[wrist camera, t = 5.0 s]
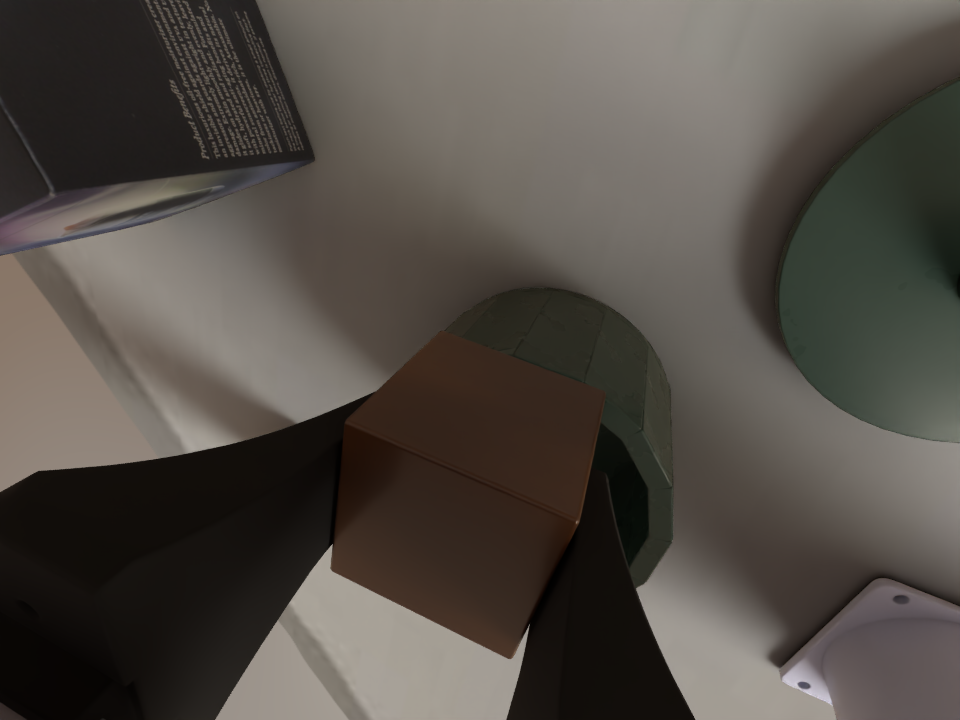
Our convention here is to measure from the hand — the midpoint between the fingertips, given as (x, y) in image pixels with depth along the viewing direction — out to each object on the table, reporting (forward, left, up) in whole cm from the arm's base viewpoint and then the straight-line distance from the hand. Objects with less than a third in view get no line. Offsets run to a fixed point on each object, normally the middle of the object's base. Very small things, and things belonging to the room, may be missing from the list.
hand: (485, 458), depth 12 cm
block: (0, 0, -1) cm, 1 cm away
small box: (+17, -3, -9) cm, 20 cm away
